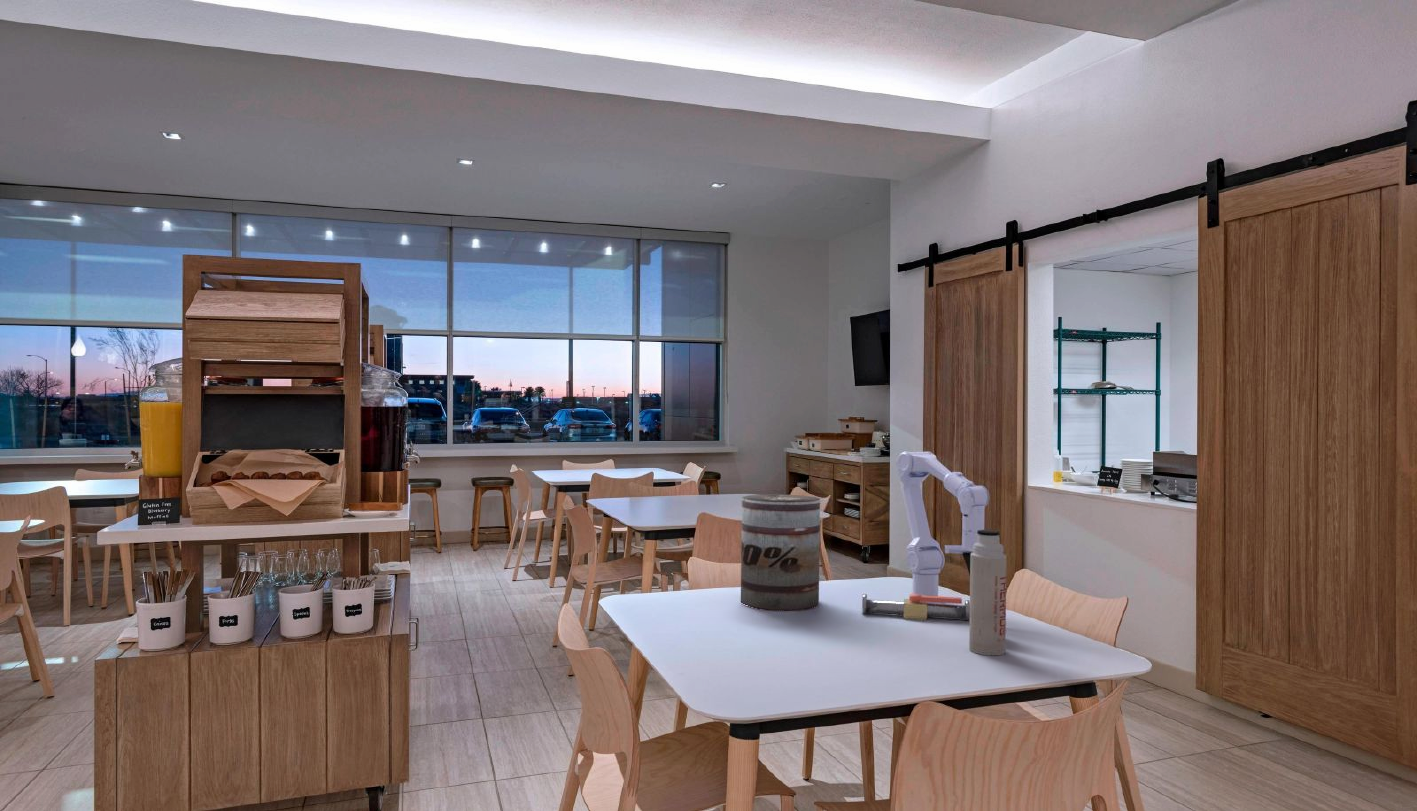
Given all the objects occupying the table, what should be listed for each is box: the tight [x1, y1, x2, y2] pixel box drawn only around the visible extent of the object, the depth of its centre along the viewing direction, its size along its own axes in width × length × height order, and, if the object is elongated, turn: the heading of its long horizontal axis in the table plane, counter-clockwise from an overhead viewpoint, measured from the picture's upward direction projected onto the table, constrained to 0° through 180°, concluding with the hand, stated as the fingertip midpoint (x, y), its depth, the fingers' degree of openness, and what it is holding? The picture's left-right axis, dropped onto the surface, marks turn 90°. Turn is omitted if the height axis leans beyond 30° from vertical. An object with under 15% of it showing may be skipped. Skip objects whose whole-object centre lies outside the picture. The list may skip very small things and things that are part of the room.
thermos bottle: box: [968, 529, 1007, 656], centre depth 200 cm, size 8×8×28 cm
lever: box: [908, 593, 963, 605], centre depth 232 cm, size 14×3×1 cm, turn 78°
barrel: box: [740, 493, 821, 612], centre depth 248 cm, size 22×22×30 cm
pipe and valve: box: [861, 593, 970, 621], centre depth 233 cm, size 6×28×5 cm, turn 77°
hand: (972, 581), depth 232 cm, fingers closed
